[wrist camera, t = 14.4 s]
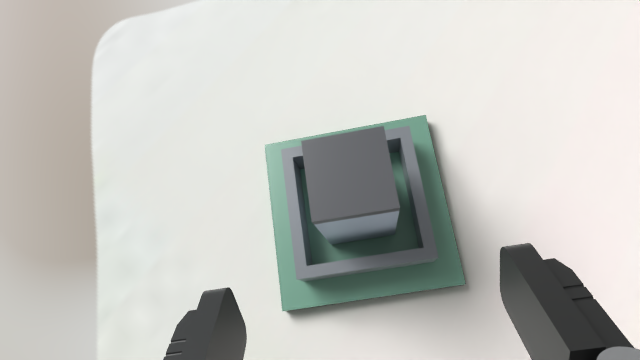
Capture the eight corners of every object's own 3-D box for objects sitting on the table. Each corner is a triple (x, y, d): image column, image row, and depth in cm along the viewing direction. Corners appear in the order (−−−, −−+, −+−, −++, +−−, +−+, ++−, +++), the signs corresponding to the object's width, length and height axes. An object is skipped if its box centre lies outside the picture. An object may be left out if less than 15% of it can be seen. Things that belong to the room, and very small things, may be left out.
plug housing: (383, 174, 24) (383, 125, 18) (394, 234, 23) (400, 207, 17) (322, 184, 25) (301, 140, 18) (331, 244, 24) (311, 221, 17)
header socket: (424, 120, 26) (429, 97, 23) (463, 284, 23) (474, 282, 20) (268, 149, 27) (254, 131, 24) (285, 310, 24) (272, 311, 21)
